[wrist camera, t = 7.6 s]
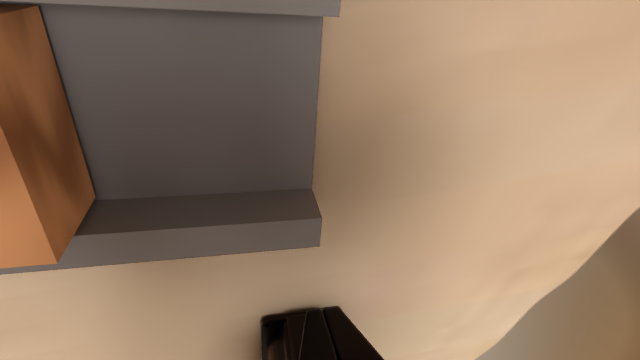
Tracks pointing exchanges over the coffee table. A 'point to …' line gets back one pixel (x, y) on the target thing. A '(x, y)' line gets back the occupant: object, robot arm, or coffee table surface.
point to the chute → (190, 124)
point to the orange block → (36, 147)
